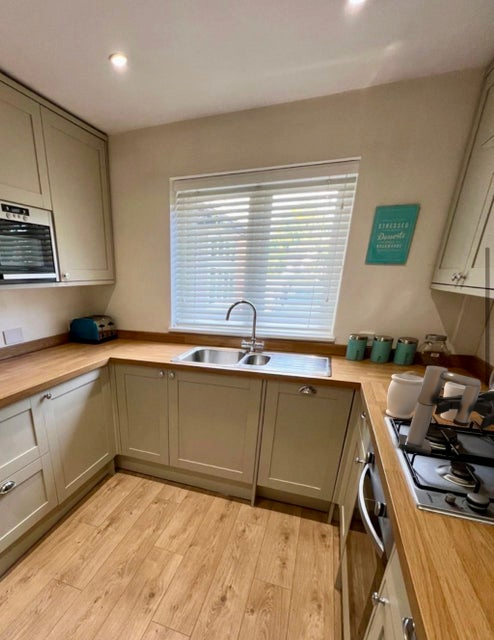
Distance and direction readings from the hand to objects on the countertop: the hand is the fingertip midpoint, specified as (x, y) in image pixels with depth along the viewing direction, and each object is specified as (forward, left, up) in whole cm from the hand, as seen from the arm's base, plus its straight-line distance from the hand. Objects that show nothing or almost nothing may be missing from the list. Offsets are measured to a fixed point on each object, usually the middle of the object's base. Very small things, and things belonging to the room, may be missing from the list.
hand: (459, 416), depth 85 cm
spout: (+2, -9, -4) cm, 10 cm away
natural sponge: (+6, -74, -16) cm, 76 cm away
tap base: (+6, -11, -16) cm, 20 cm away
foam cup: (-7, -46, -16) cm, 50 cm away
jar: (+10, -38, -16) cm, 43 cm away
